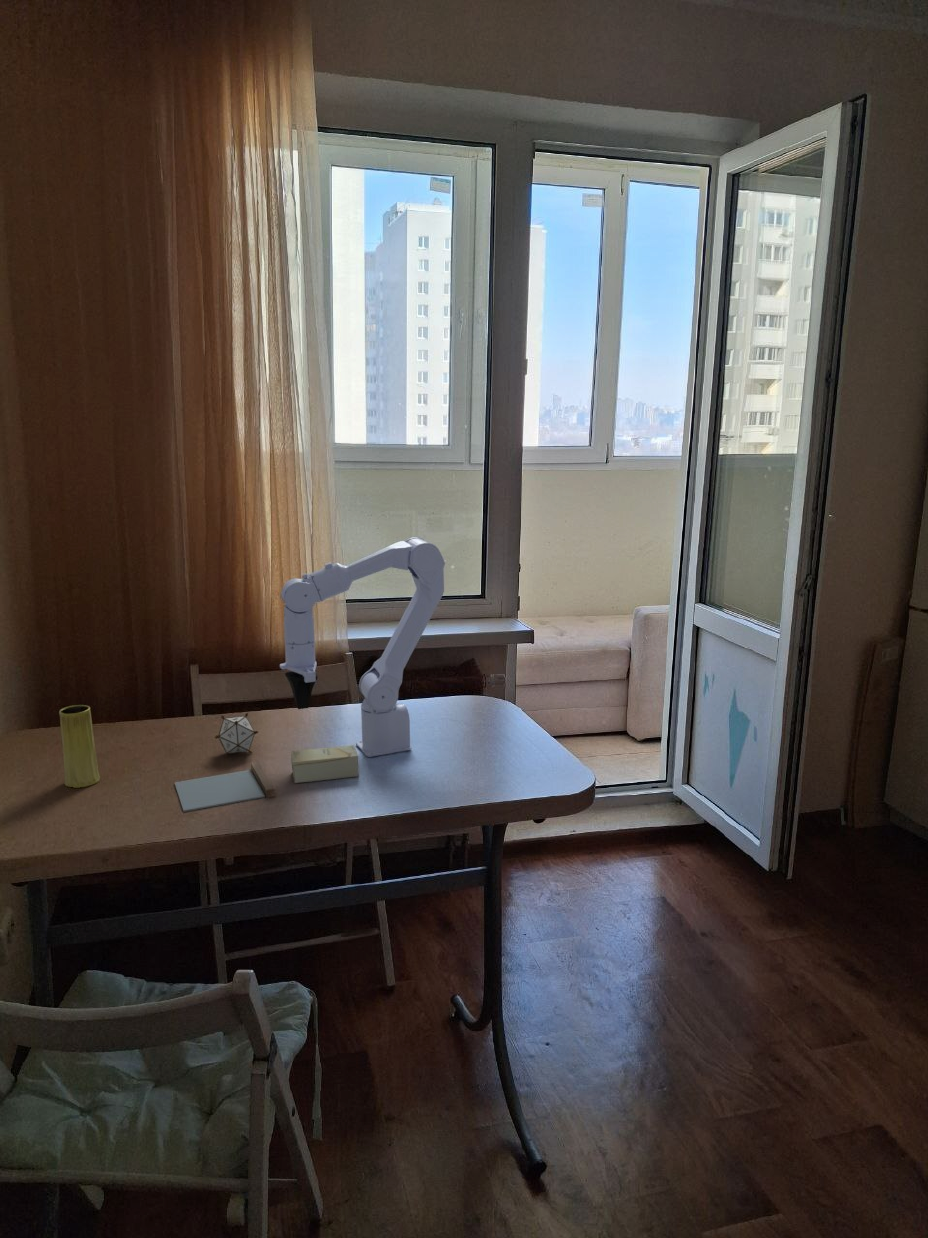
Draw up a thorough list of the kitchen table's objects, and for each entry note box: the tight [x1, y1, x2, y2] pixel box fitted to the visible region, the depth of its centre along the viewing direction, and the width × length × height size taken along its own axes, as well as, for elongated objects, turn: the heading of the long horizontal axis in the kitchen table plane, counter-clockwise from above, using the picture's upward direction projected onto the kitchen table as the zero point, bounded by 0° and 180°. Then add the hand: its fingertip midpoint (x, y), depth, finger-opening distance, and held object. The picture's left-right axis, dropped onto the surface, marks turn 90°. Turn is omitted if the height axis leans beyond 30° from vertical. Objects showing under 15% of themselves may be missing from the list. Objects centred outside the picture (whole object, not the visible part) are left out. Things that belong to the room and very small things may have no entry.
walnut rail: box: [250, 761, 276, 799], centre depth 161 cm, size 2×14×2 cm, turn 25°
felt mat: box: [174, 769, 266, 813], centre depth 158 cm, size 14×13×1 cm
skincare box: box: [290, 744, 360, 784], centre depth 165 cm, size 6×4×12 cm
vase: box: [58, 704, 101, 789], centre depth 161 cm, size 6×6×14 cm
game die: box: [214, 712, 259, 758], centre depth 175 cm, size 9×8×10 cm
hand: (302, 707), depth 171 cm, fingers closed
